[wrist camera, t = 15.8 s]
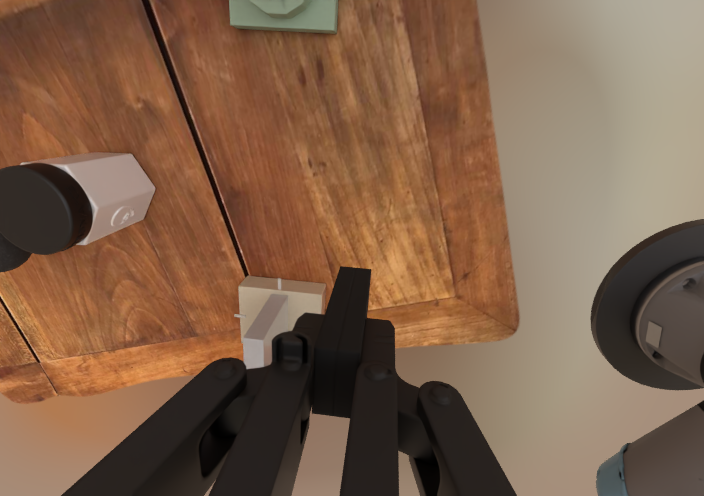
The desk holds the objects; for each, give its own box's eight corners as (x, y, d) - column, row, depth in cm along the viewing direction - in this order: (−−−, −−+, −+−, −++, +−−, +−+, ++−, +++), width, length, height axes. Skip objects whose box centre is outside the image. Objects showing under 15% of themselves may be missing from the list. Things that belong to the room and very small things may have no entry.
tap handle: (271, 293, 43) (241, 339, 35) (288, 295, 43) (262, 341, 35) (271, 343, 46) (244, 397, 37) (287, 345, 46) (263, 400, 37)
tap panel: (331, 272, 45) (327, 283, 42) (328, 349, 49) (323, 364, 46) (242, 263, 46) (231, 273, 43) (245, 339, 50) (236, 354, 47)
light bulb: (28, 234, 47) (-61, 265, 38) (36, 197, 45) (-56, 219, 36) (69, 255, 48) (-8, 290, 39) (79, 219, 46) (-1, 247, 37)
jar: (140, 234, 46) (58, 275, 35) (79, 199, 45) (-25, 229, 34) (165, 173, 43) (84, 195, 31) (100, 134, 42) (-7, 143, 31)
